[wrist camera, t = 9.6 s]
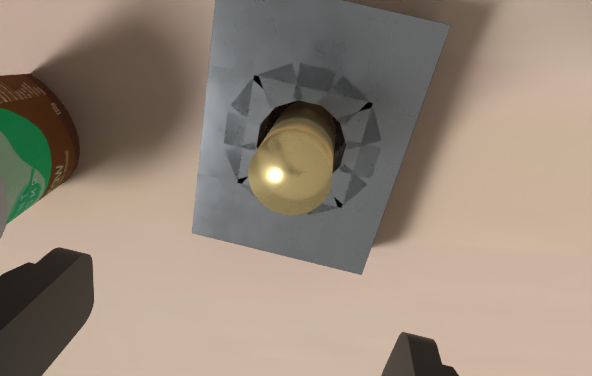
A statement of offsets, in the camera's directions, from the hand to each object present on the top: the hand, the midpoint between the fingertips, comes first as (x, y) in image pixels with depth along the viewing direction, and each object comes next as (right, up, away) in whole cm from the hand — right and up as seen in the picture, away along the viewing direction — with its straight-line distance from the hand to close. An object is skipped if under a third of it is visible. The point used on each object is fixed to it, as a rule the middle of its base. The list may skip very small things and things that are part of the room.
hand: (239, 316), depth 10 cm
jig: (+2, +7, +15) cm, 17 cm away
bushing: (+2, +7, +15) cm, 17 cm away
